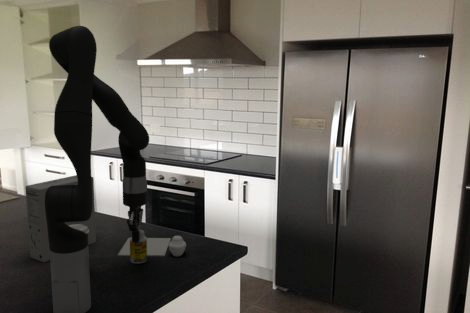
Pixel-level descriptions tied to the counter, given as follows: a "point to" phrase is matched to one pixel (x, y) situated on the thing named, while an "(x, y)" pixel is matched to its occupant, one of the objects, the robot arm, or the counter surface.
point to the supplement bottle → (138, 249)
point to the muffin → (177, 246)
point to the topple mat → (149, 247)
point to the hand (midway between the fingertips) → (136, 241)
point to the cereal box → (38, 217)
